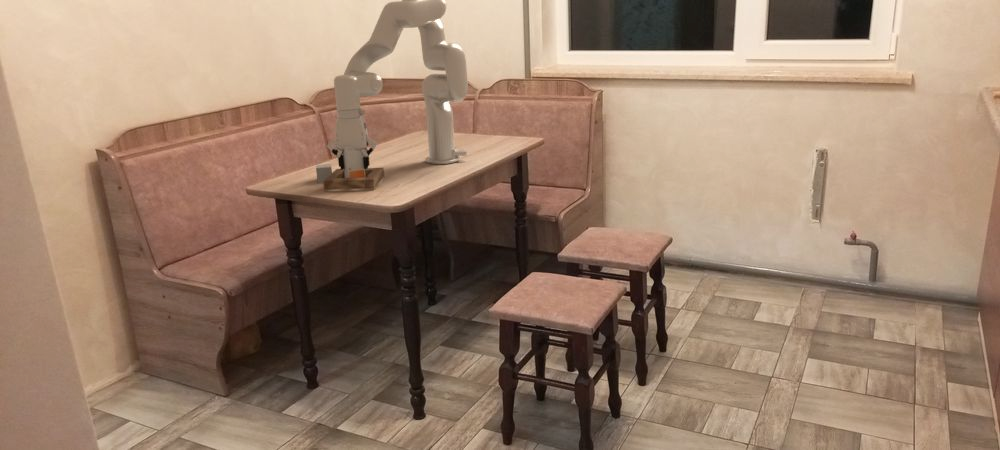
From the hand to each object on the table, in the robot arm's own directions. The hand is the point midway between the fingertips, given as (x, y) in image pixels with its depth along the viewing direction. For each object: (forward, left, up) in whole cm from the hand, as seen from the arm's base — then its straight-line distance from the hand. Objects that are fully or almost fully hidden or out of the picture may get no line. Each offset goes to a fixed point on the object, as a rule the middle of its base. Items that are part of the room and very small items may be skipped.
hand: (354, 168), depth 249 cm
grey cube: (+12, -7, -6) cm, 15 cm away
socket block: (0, 0, -5) cm, 5 cm away
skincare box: (0, 0, -4) cm, 4 cm away
